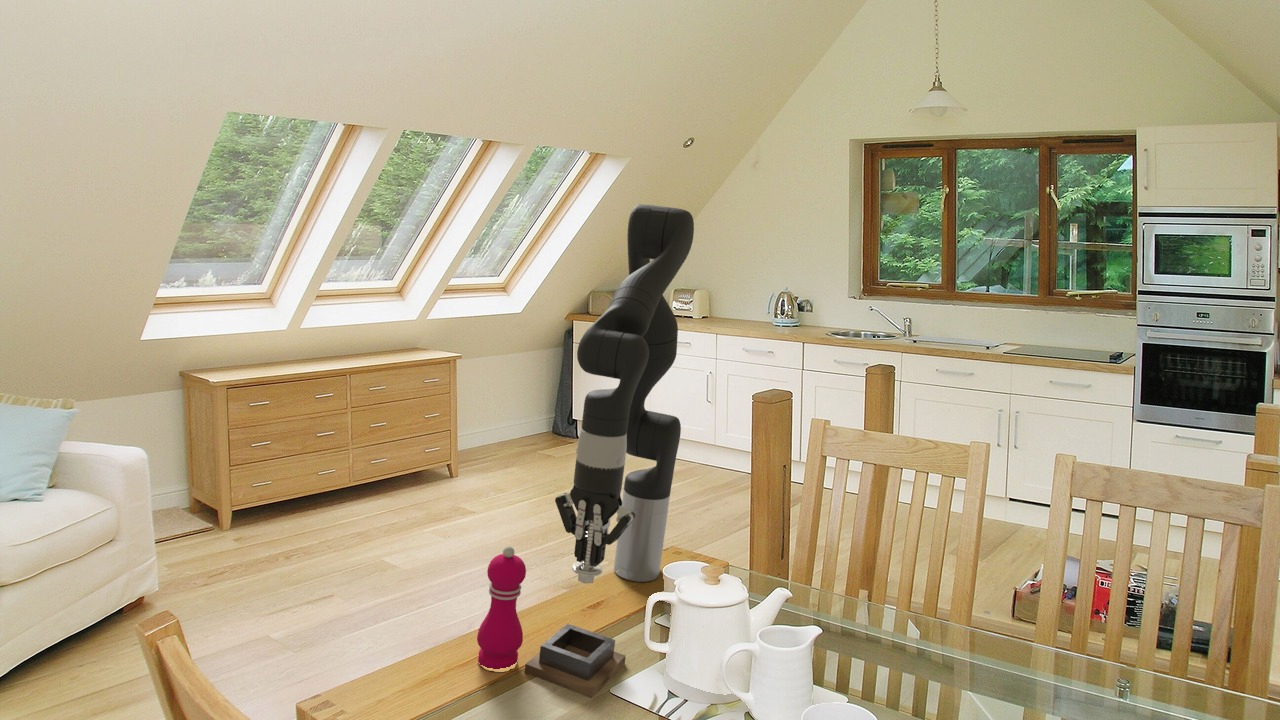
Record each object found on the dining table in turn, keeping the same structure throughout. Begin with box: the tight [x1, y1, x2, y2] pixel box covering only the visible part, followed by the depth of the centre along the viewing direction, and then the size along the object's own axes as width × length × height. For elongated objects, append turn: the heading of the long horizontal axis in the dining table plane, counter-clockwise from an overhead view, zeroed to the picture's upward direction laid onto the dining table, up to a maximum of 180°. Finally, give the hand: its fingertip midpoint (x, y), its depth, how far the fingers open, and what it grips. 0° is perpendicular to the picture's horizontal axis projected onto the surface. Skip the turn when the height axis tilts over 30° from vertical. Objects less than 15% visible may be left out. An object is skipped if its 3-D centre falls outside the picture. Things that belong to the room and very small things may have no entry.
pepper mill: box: [476, 546, 527, 669], centre depth 152 cm, size 7×7×20 cm
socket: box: [539, 623, 616, 681], centre depth 155 cm, size 9×9×3 cm
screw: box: [571, 520, 604, 584], centre depth 151 cm, size 13×5×5 cm
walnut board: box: [524, 645, 627, 699], centre depth 155 cm, size 12×12×2 cm
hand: (588, 562), depth 151 cm, fingers closed on screw, 2 cm apart
